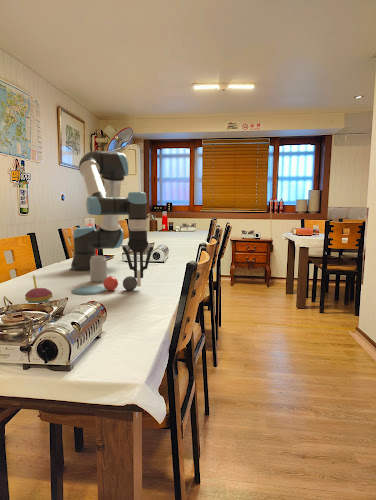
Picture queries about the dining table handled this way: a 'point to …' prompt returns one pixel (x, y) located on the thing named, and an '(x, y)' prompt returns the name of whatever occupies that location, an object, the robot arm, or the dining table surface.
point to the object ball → (110, 283)
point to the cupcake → (38, 294)
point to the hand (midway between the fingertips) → (138, 285)
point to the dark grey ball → (129, 283)
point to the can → (98, 269)
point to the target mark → (88, 290)
